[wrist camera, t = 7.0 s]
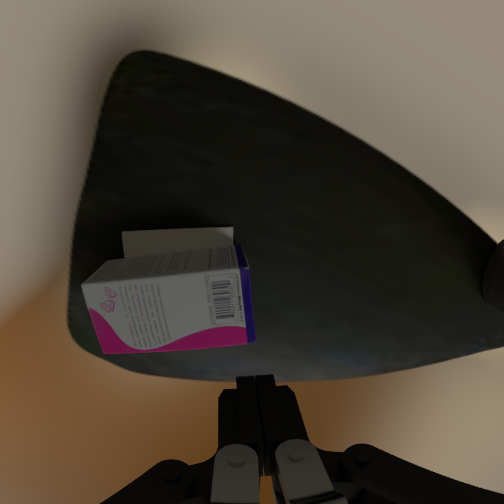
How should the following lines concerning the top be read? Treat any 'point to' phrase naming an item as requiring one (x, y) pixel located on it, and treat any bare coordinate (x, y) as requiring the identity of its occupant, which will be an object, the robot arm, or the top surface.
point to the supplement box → (172, 301)
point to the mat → (174, 240)
